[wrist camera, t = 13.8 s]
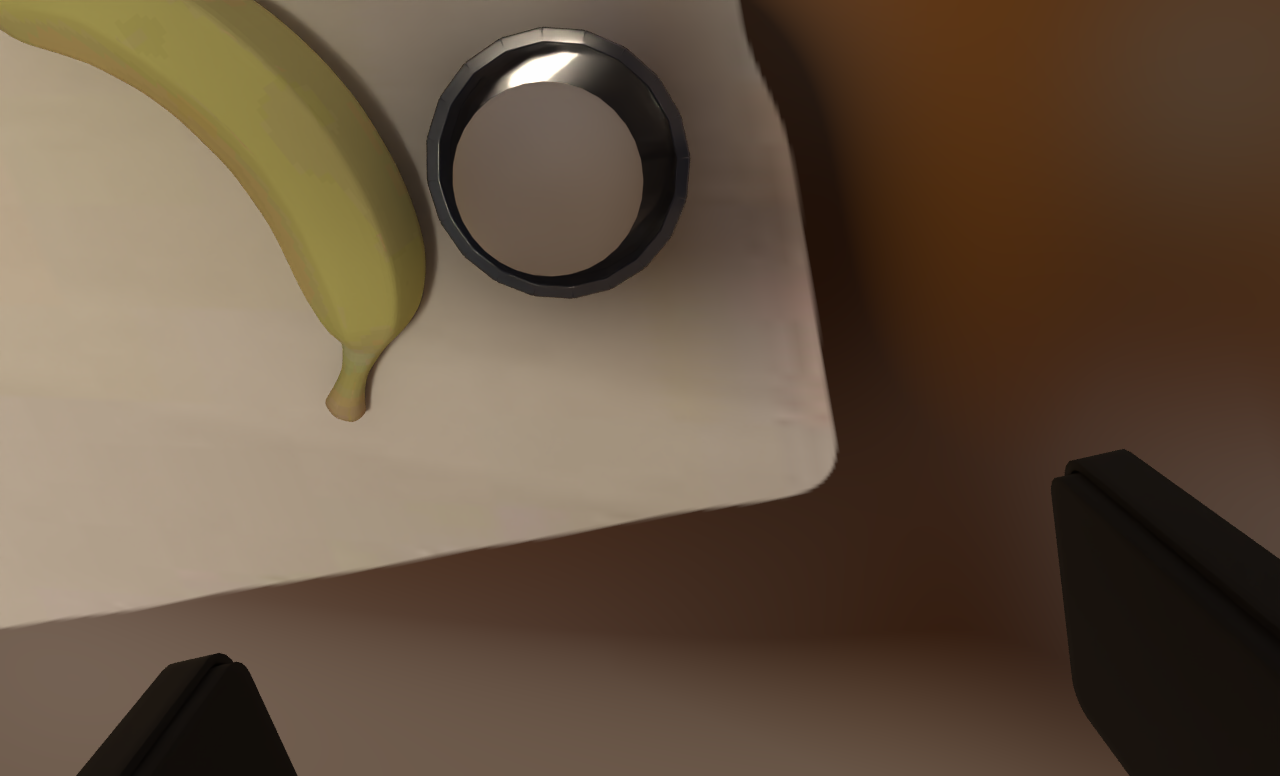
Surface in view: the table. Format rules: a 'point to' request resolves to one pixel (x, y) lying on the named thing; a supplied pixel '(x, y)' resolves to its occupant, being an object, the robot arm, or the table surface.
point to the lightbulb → (547, 178)
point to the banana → (268, 149)
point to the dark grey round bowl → (613, 82)
